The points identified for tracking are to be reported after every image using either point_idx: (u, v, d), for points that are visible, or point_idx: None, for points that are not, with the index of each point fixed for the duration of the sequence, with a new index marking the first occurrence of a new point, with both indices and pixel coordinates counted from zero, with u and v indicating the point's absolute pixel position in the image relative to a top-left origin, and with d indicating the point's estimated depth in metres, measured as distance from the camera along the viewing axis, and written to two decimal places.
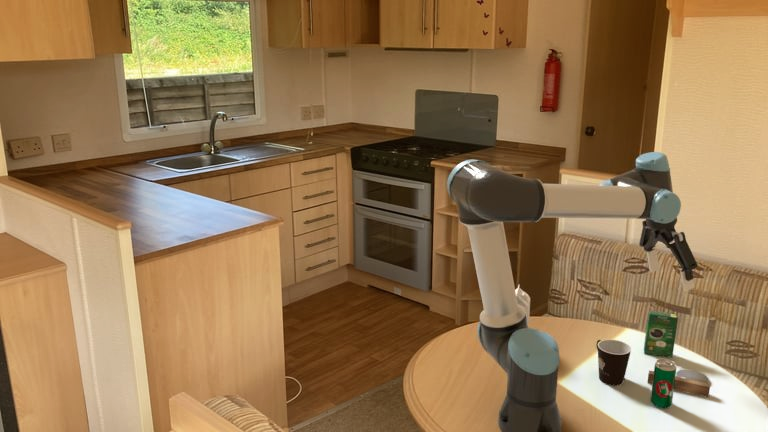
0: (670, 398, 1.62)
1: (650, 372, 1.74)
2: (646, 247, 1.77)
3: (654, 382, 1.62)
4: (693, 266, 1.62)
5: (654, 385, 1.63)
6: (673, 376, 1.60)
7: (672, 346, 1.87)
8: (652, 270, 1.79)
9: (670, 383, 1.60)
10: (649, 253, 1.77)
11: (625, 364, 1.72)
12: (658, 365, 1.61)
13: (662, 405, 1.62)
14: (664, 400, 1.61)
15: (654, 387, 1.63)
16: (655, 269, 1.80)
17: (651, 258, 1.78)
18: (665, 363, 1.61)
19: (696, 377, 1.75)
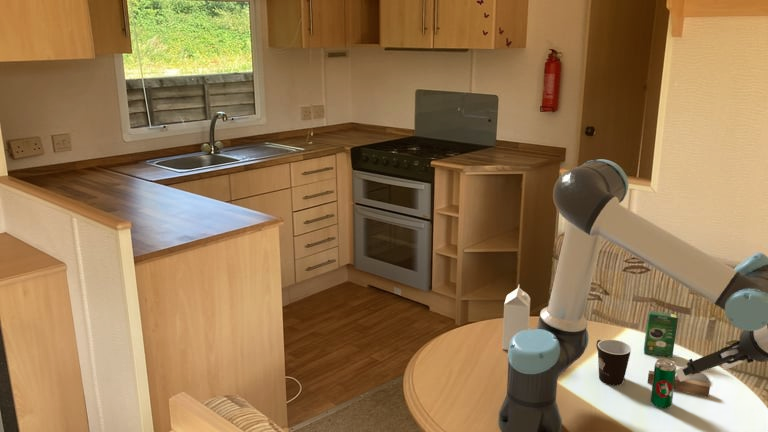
0: (670, 398, 1.62)
1: (650, 372, 1.74)
2: None
3: (654, 382, 1.62)
4: (691, 368, 1.41)
5: (654, 385, 1.63)
6: (673, 376, 1.60)
7: (672, 346, 1.87)
8: None
9: (670, 383, 1.60)
10: None
11: (625, 364, 1.72)
12: (658, 365, 1.61)
13: (662, 405, 1.62)
14: (664, 400, 1.61)
15: (654, 387, 1.63)
16: (722, 364, 1.53)
17: None
18: (665, 363, 1.61)
19: (696, 377, 1.75)
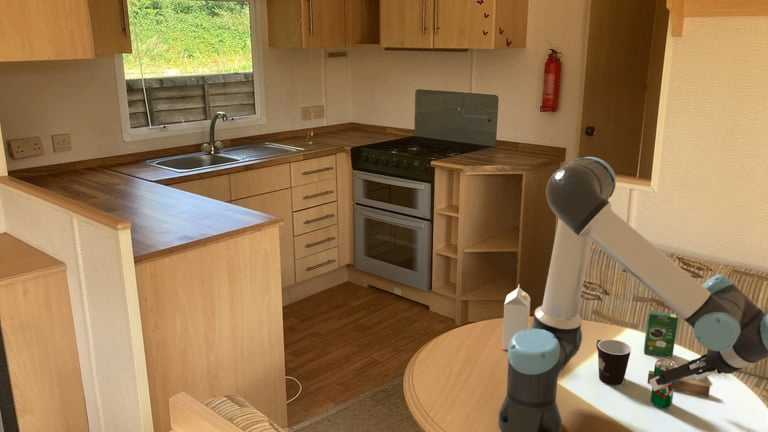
0: (670, 398, 1.62)
1: (650, 372, 1.74)
2: None
3: None
4: (662, 378, 1.50)
5: None
6: None
7: (672, 346, 1.87)
8: None
9: None
10: None
11: (625, 364, 1.72)
12: (658, 365, 1.61)
13: (662, 405, 1.62)
14: (664, 400, 1.61)
15: None
16: (695, 374, 1.62)
17: None
18: (665, 363, 1.61)
19: None
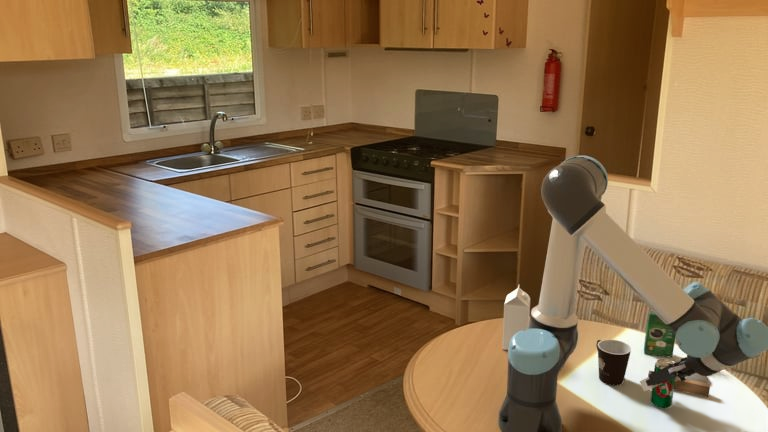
0: (670, 398, 1.62)
1: (650, 372, 1.74)
2: None
3: None
4: (651, 380, 1.58)
5: None
6: None
7: (672, 346, 1.87)
8: None
9: (670, 383, 1.60)
10: None
11: (625, 364, 1.72)
12: (658, 365, 1.61)
13: (662, 405, 1.62)
14: (664, 400, 1.61)
15: (654, 387, 1.63)
16: None
17: None
18: (665, 363, 1.61)
19: (696, 377, 1.75)
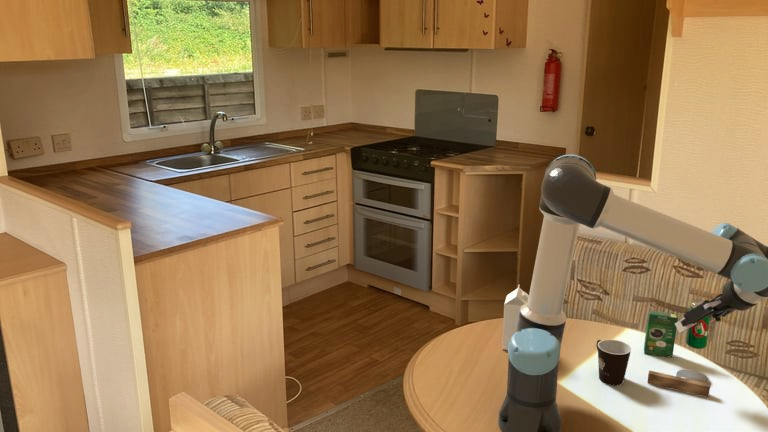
0: (706, 338, 1.64)
1: (650, 372, 1.74)
2: None
3: None
4: (686, 319, 1.61)
5: None
6: (708, 316, 1.63)
7: (672, 346, 1.87)
8: None
9: (705, 322, 1.63)
10: None
11: (625, 364, 1.72)
12: (693, 305, 1.64)
13: (698, 345, 1.65)
14: (699, 340, 1.64)
15: (689, 328, 1.65)
16: None
17: None
18: (700, 303, 1.64)
19: (696, 377, 1.75)
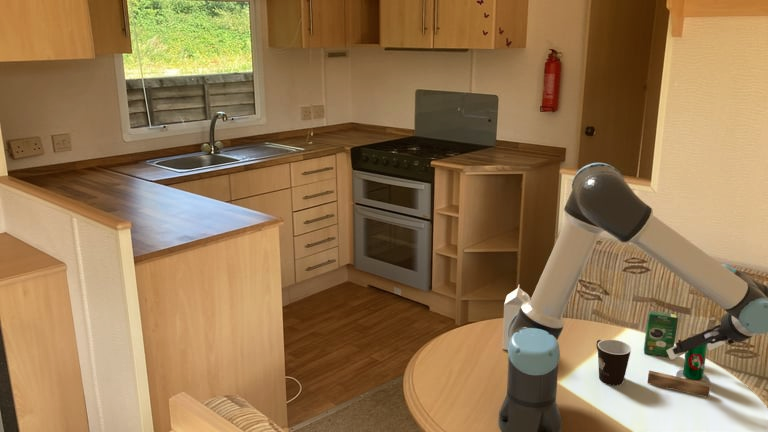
0: (702, 370, 1.73)
1: (650, 372, 1.74)
2: None
3: (686, 356, 1.74)
4: (679, 347, 1.66)
5: (686, 359, 1.74)
6: (705, 350, 1.71)
7: (672, 346, 1.87)
8: None
9: (702, 356, 1.71)
10: None
11: (625, 364, 1.72)
12: None
13: (694, 377, 1.73)
14: (696, 372, 1.73)
15: (686, 360, 1.74)
16: (708, 345, 1.78)
17: None
18: None
19: None
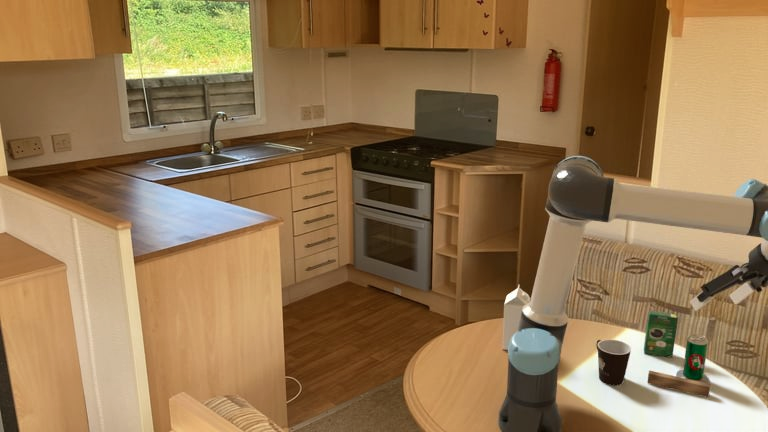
0: (702, 371, 1.73)
1: (650, 372, 1.74)
2: None
3: (687, 356, 1.73)
4: (705, 290, 1.50)
5: (687, 359, 1.74)
6: (705, 350, 1.71)
7: (672, 346, 1.87)
8: (731, 295, 1.63)
9: (702, 356, 1.71)
10: (746, 283, 1.58)
11: (625, 364, 1.72)
12: (691, 340, 1.72)
13: (694, 377, 1.73)
14: (696, 372, 1.73)
15: (687, 360, 1.74)
16: (733, 299, 1.62)
17: (742, 288, 1.60)
18: (697, 338, 1.72)
19: None
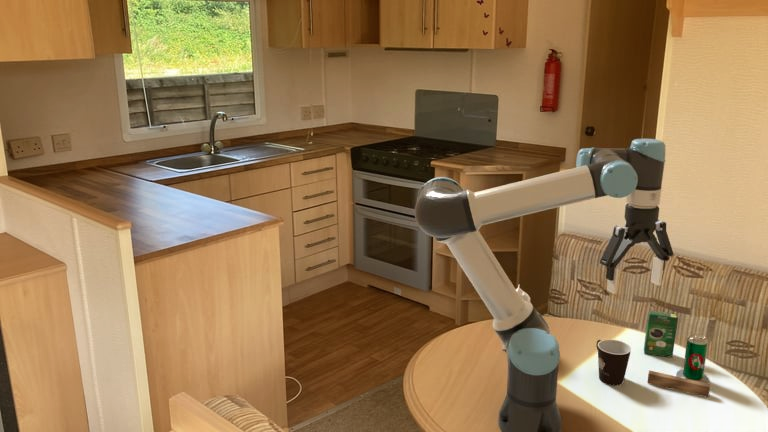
0: (702, 370, 1.73)
1: (650, 372, 1.74)
2: None
3: (687, 356, 1.74)
4: (603, 261, 1.52)
5: (687, 359, 1.74)
6: (705, 350, 1.71)
7: (672, 346, 1.87)
8: (652, 280, 1.60)
9: (702, 356, 1.71)
10: (654, 259, 1.59)
11: (625, 364, 1.72)
12: (691, 339, 1.72)
13: (694, 377, 1.73)
14: (696, 372, 1.73)
15: (687, 360, 1.74)
16: (654, 282, 1.59)
17: (654, 266, 1.59)
18: (697, 338, 1.72)
19: None
